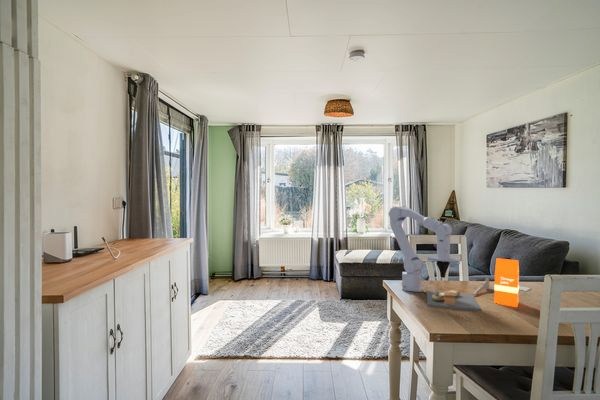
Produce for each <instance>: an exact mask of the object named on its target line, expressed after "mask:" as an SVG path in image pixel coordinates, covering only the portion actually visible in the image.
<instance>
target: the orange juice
mask: <svg viewBox="0 0 600 400" xmlns="http://www.w3.org/2000/svg"><path fill="white" fill-rule="evenodd" d="M494 269H495V270H494V286H493V288H494V299H493V300H494V301H493V302H494V304H496V303H497V305H503V306H509V307H513V308H518V305H519V301H520V300H519V296H520V295H519V292H520V290H519V286H520V265H519V259H507V258H499V257H498V258H497V257H496V260H495V267H494Z"/></svg>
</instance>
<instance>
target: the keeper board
mask: <svg viewBox="0 0 600 400" xmlns="http://www.w3.org/2000/svg"><path fill="white" fill-rule="evenodd" d="M435 291H436V290H426V291H425V294H426V301H427V306H428V307H435V308H445V309H454V310H464V311H473V312H482V308H481V306H480V304H479V303H478V301H477V299H476V297H475V296H473V293H472V294H469V293H461V292H460V295H459V296H455V295H454V293H453V292H449V291H450V290H443V291H438V292H439V293H443V292H444V296H445V299H444V300H442V301H435V300H432V295H433V294H435Z"/></svg>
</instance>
